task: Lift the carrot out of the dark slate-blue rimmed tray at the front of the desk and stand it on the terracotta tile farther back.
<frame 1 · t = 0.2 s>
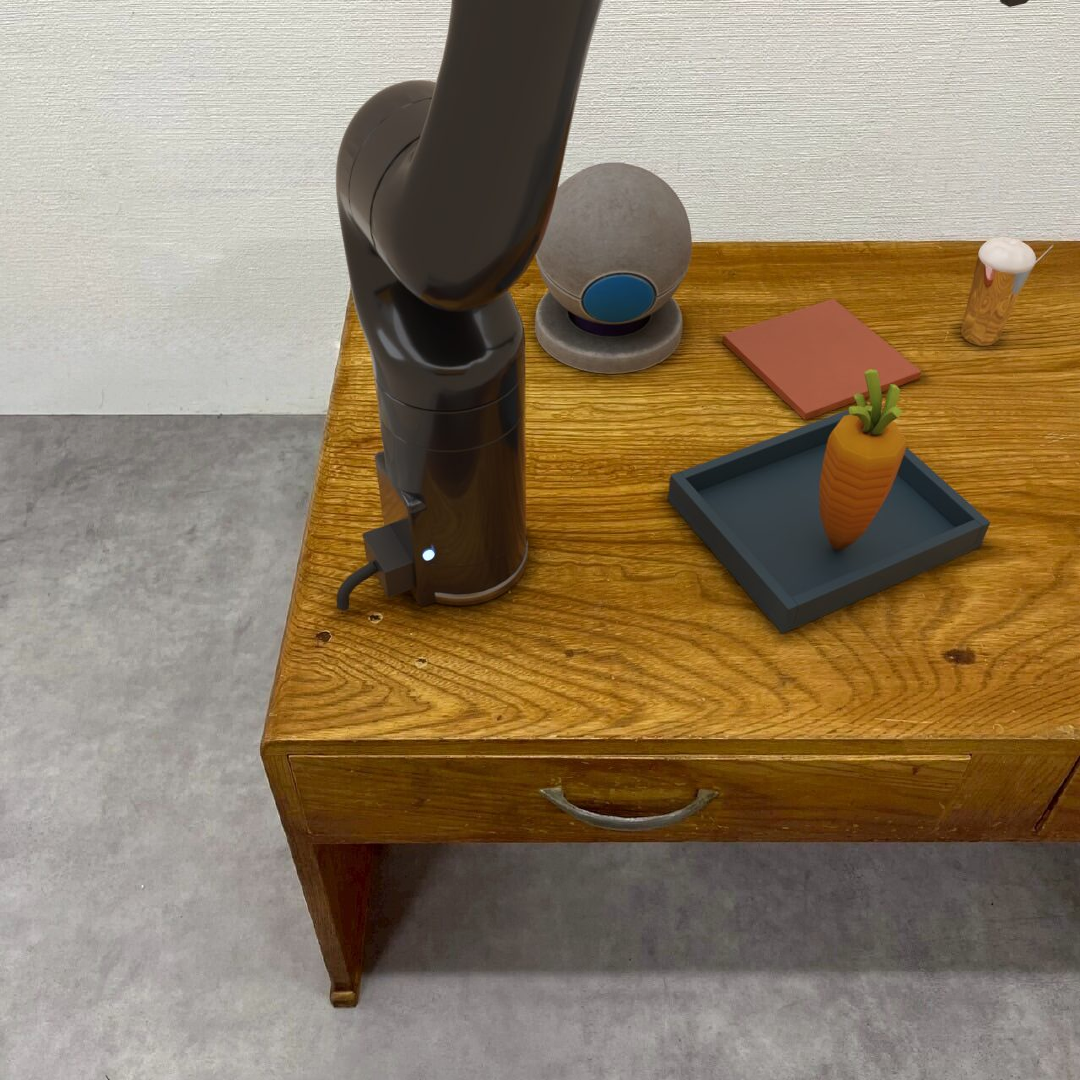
hand: (1060, 26, 73), 29 cm above the table, tool pointing down, fingers open, 8 cm apart
tile: (818, 359, 96), on the table
milkshake: (983, 338, 99), on the table
tray: (820, 523, 83), on the table
webcam: (608, 332, 99), on the table
carrot: (836, 550, 80), resting in tray
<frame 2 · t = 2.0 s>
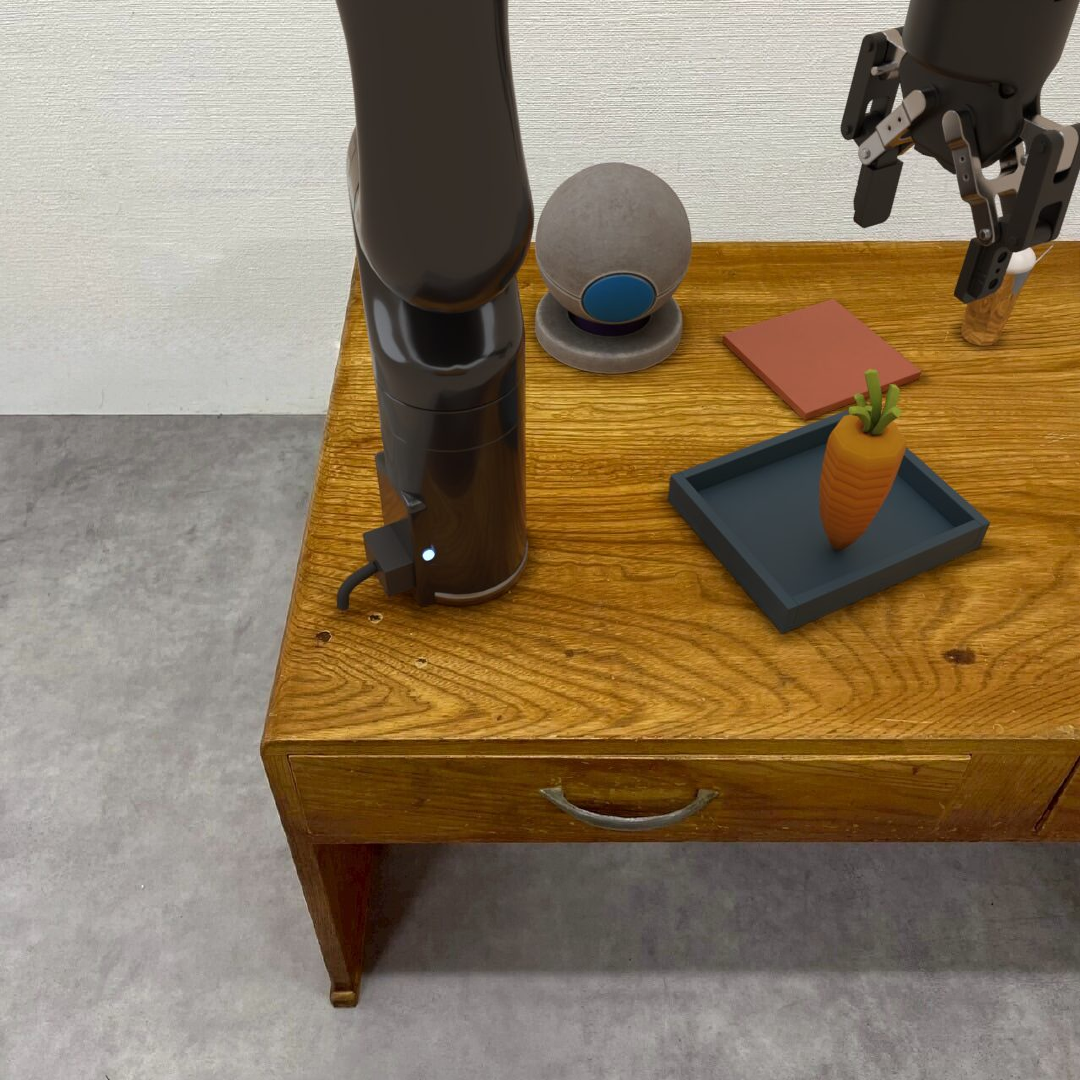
hand: (919, 258, 63), 24 cm above the table, tool pointing down, fingers open, 8 cm apart
nothing on the table moved.
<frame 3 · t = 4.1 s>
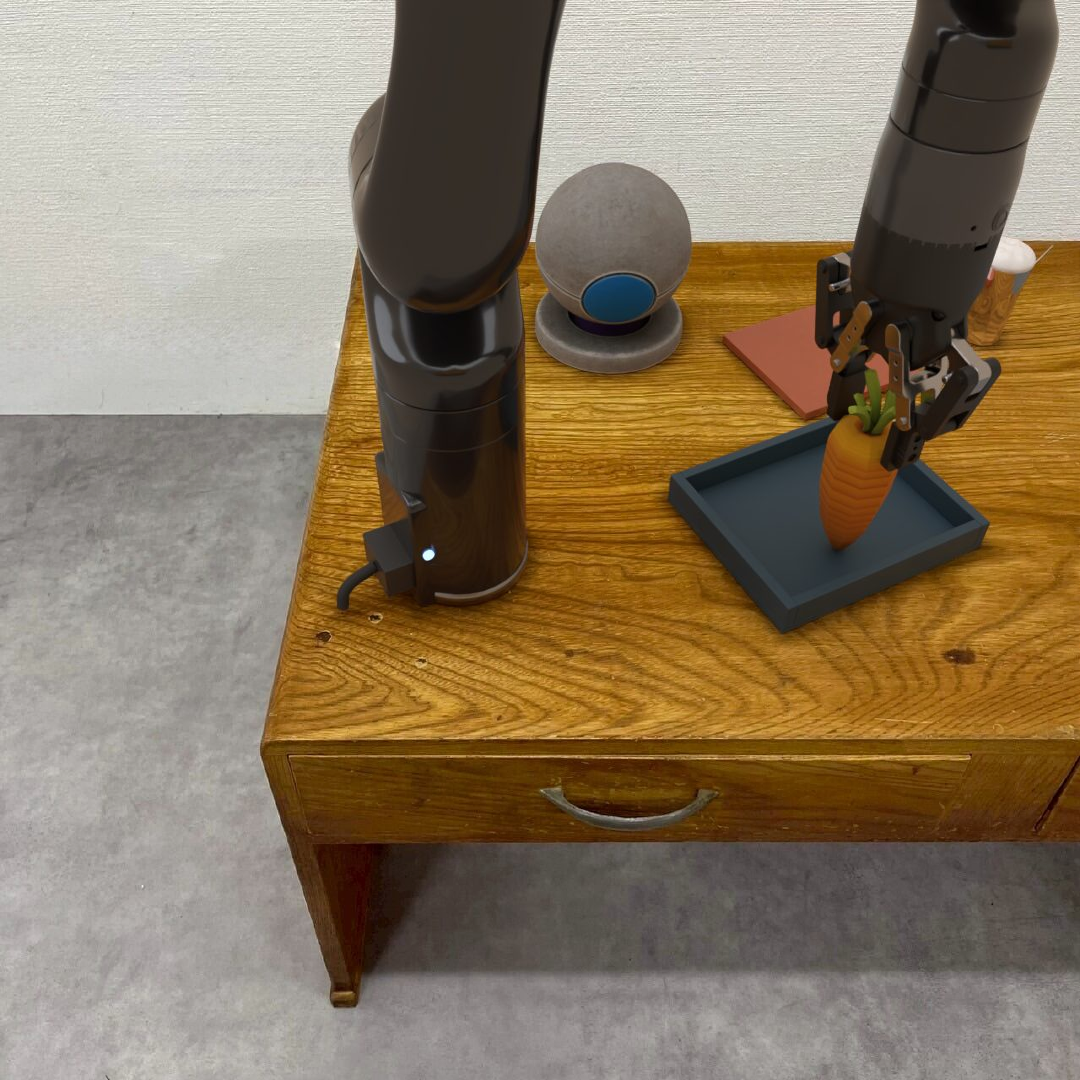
hand: (868, 438, 73), 11 cm above the table, tool pointing down, fingers closed on carrot, 5 cm apart
carrot: (836, 550, 80), resting in tray, touching gripper
everything else where it was.
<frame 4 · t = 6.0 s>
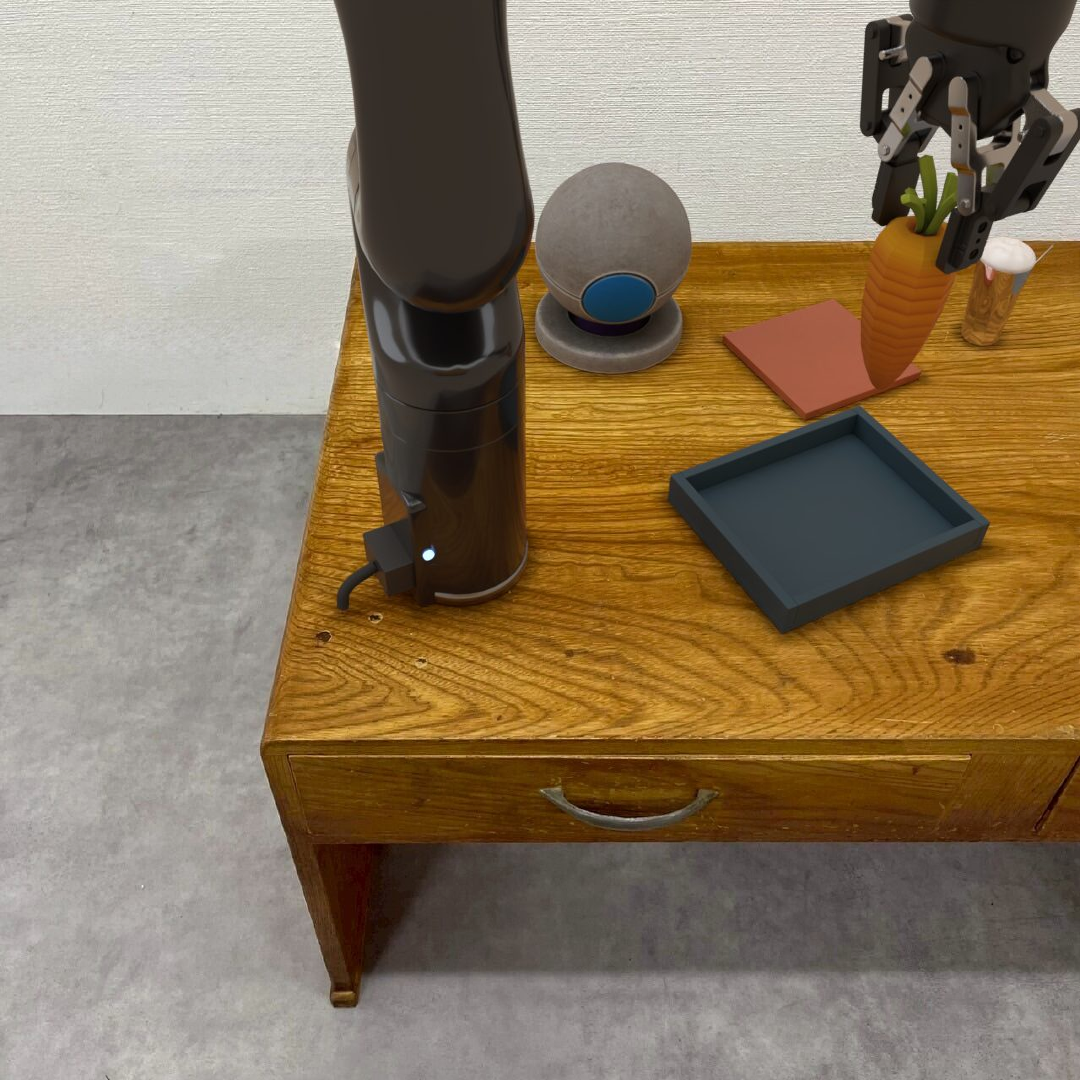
hand: (920, 242, 63), 25 cm above the table, tool pointing down, fingers closed on carrot, 5 cm apart
carrot: (877, 390, 71), point 14 cm above the table, touching gripper
everything else where it was.
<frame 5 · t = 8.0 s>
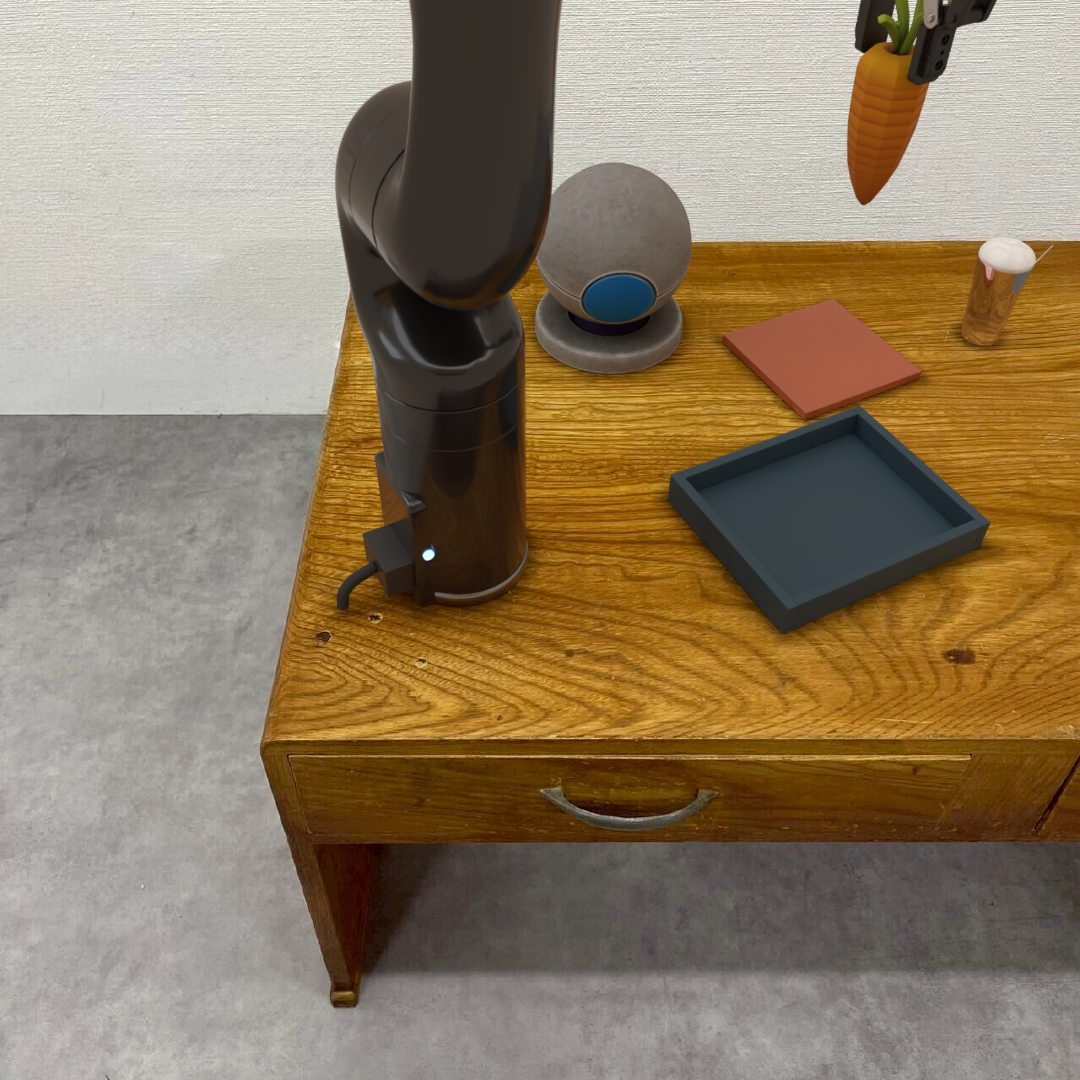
hand: (895, 64, 75), 27 cm above the table, tool pointing down, fingers closed on carrot, 5 cm apart
carrot: (862, 206, 83), point 16 cm above the table, touching gripper
everything else where it was.
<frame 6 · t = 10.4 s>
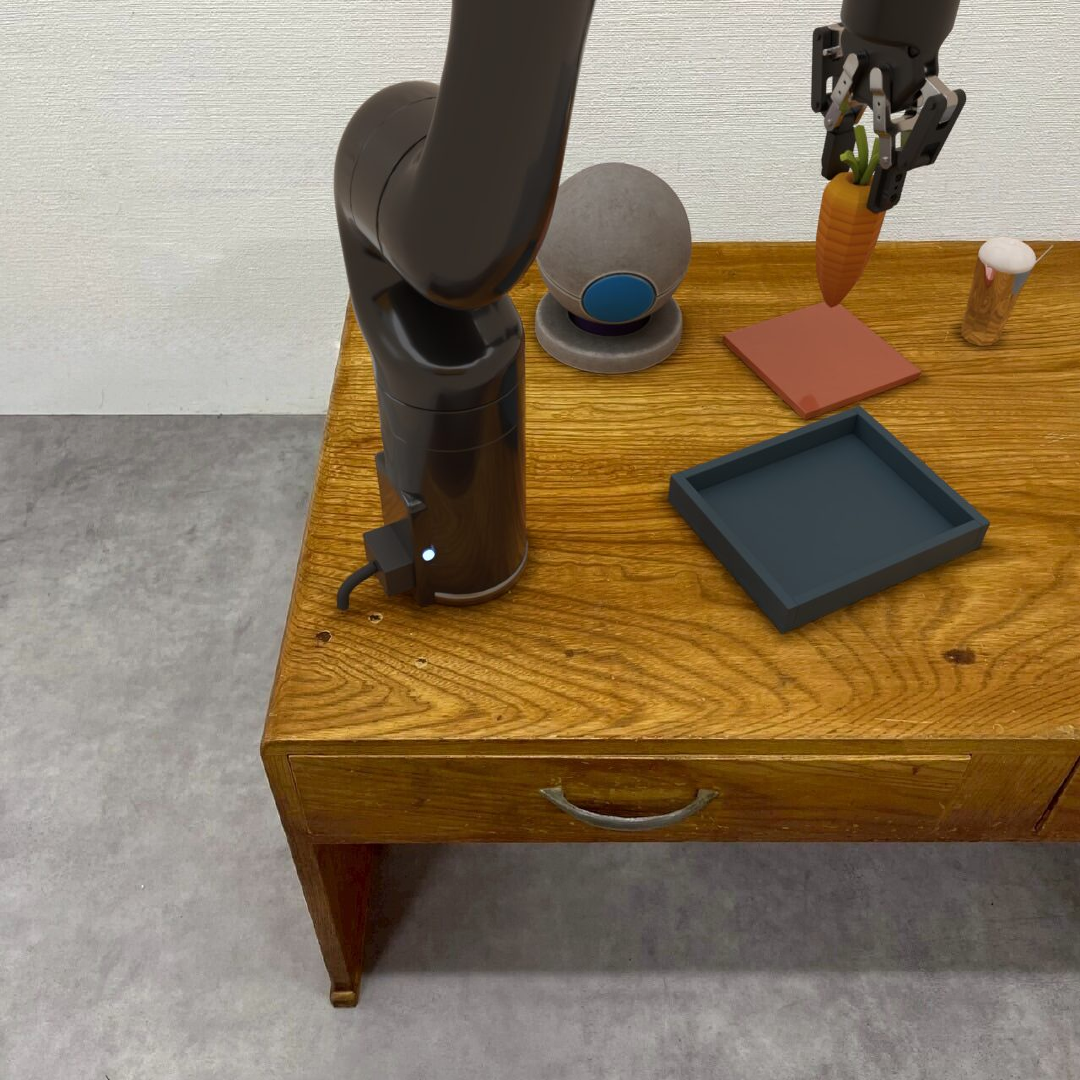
hand: (856, 191, 85), 16 cm above the table, tool pointing down, fingers closed on carrot, 5 cm apart
carrot: (830, 308, 93), point 5 cm above the table, touching gripper
everything else where it was.
when the fingers open (11 cm above the table, at t = 12.0 s): carrot stays where it is, resting on tile.
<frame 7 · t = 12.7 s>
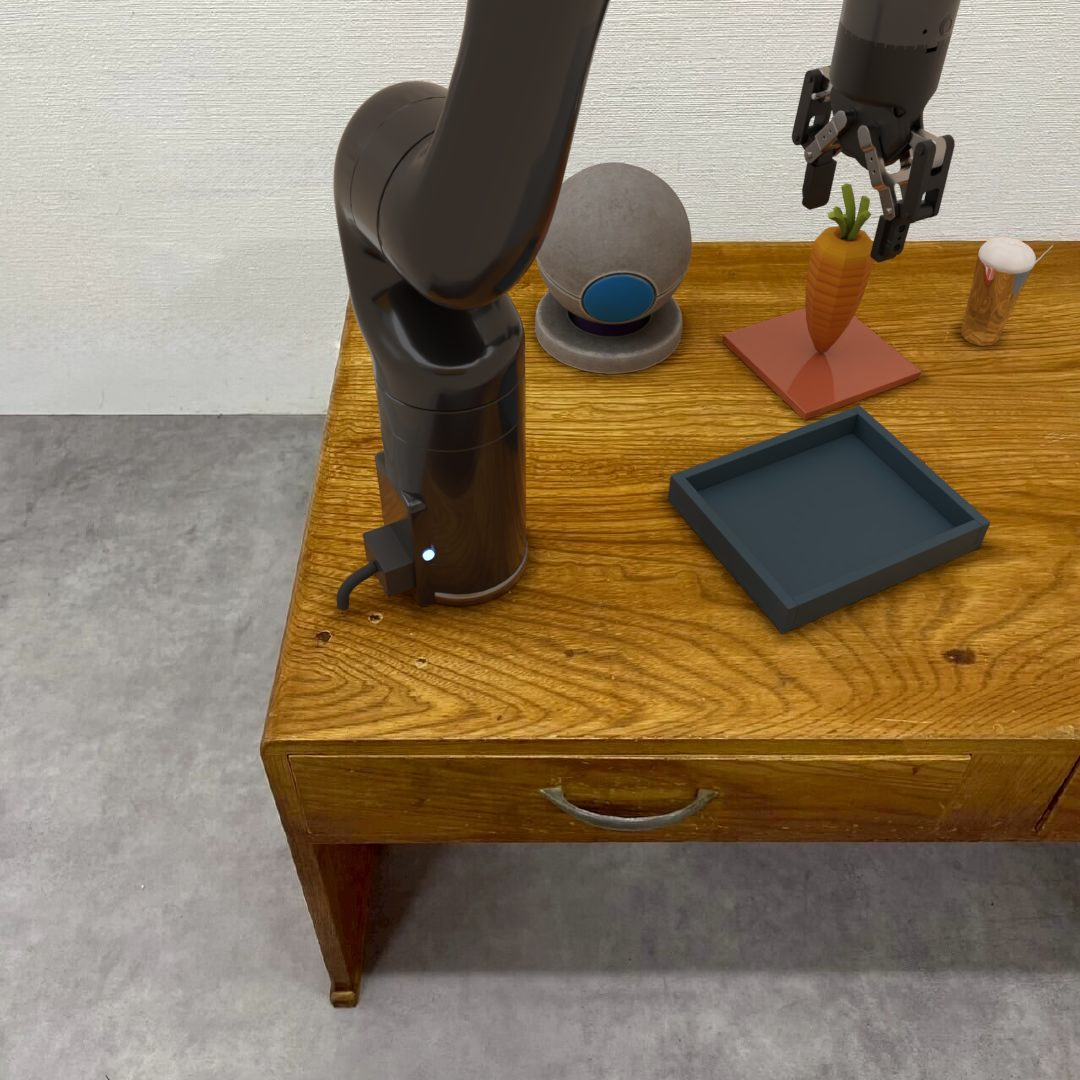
hand: (848, 231, 87), 12 cm above the table, tool pointing down, fingers open, 8 cm apart
carrot: (820, 354, 96), point 1 cm above the table, touching tile
everything else where it was.
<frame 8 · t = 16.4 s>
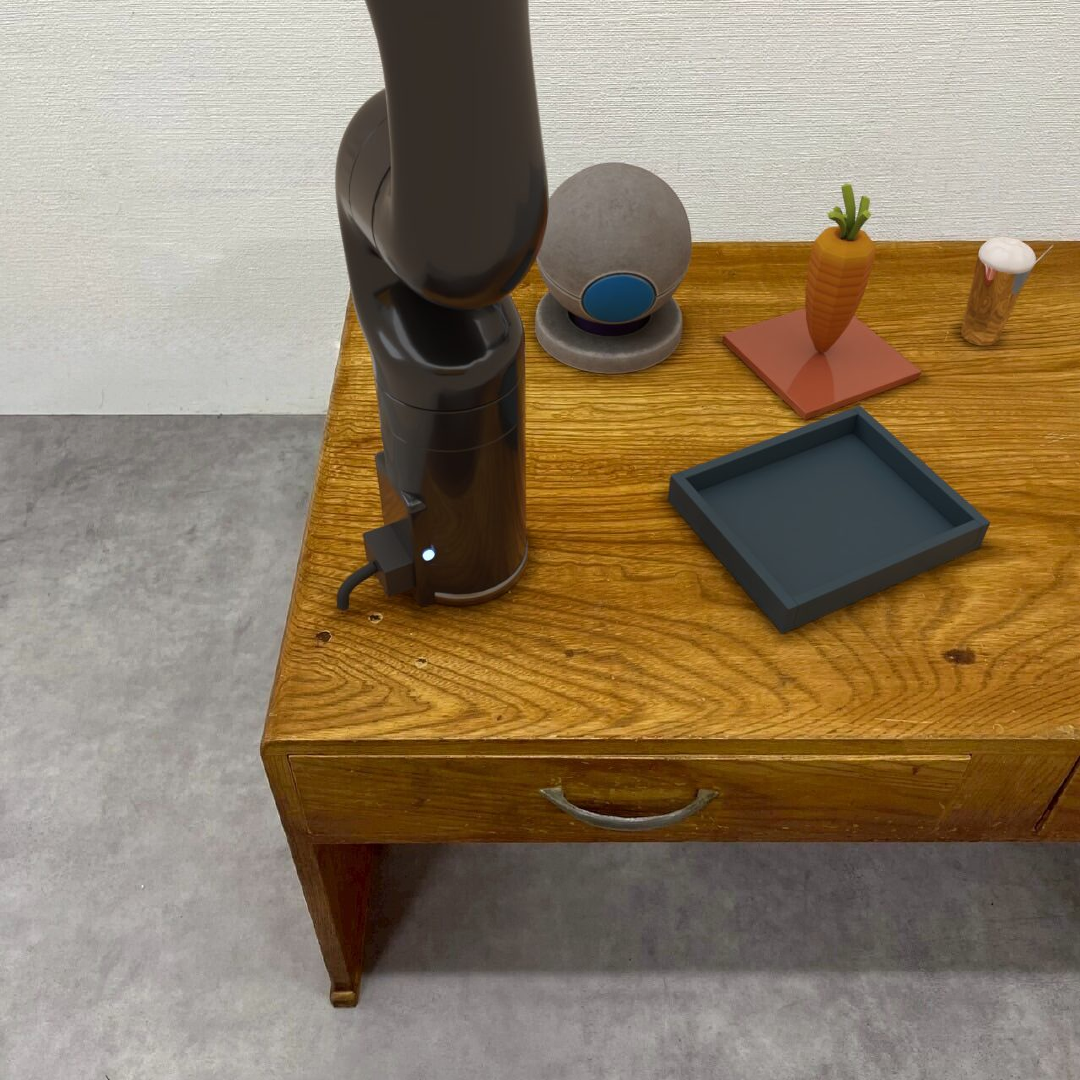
nothing on the table moved.
at the end: carrot inside the target area on the tile (0.0 cm from its centre), point 0.6 cm above the tile's base; carrot tilted 0°; carrot touching tile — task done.
